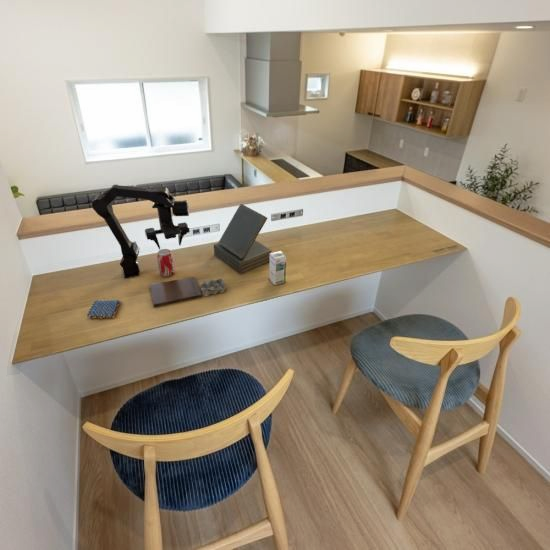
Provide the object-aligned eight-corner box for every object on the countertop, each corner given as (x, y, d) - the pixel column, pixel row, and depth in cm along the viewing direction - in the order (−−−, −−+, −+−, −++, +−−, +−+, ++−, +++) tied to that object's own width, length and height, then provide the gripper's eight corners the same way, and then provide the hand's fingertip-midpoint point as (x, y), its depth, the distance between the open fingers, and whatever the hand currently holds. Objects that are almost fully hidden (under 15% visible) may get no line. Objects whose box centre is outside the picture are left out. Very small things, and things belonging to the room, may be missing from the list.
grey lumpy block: (203, 297, 158) (202, 290, 156) (199, 287, 164) (198, 280, 162) (226, 292, 162) (226, 285, 160) (222, 283, 168) (222, 275, 165)
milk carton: (274, 285, 167) (275, 258, 159) (268, 279, 172) (269, 252, 163) (285, 282, 169) (286, 256, 161) (279, 276, 174) (280, 249, 166)
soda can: (171, 278, 169) (167, 256, 163) (157, 276, 170) (153, 254, 164) (177, 270, 175) (174, 249, 168) (164, 268, 176) (160, 247, 169)
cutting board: (154, 307, 152) (153, 304, 151) (150, 287, 163) (149, 284, 163) (201, 297, 158) (201, 294, 158) (194, 278, 170) (194, 276, 169)
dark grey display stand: (214, 254, 188) (210, 210, 174) (244, 243, 199) (243, 200, 185) (240, 274, 174) (239, 227, 160) (271, 260, 185) (272, 215, 171)
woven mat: (114, 318, 145) (113, 314, 144) (87, 319, 144) (85, 315, 143) (121, 302, 154) (120, 298, 153) (95, 303, 153) (94, 299, 152)
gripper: (146, 227, 149) (152, 259, 158) (191, 220, 156) (194, 251, 165) (142, 216, 158) (147, 248, 166) (184, 210, 165) (188, 240, 173)
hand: (169, 247), depth 167 cm, fingers open, 9 cm apart
